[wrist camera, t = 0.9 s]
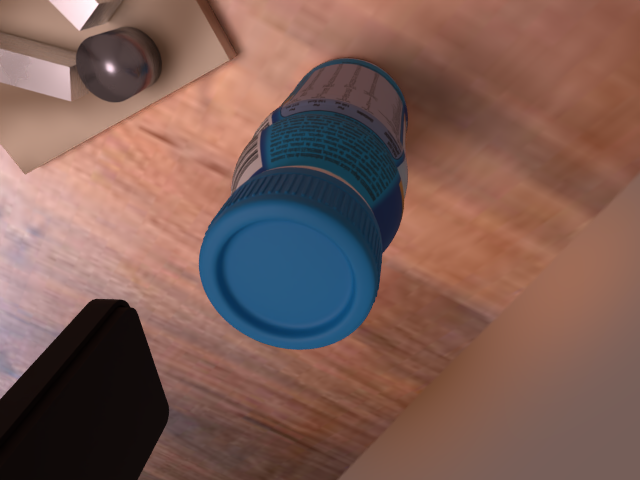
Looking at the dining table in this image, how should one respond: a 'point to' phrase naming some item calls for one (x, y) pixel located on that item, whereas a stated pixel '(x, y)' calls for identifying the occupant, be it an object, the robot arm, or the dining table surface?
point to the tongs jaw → (40, 68)
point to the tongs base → (111, 52)
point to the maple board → (90, 111)
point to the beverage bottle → (311, 210)
